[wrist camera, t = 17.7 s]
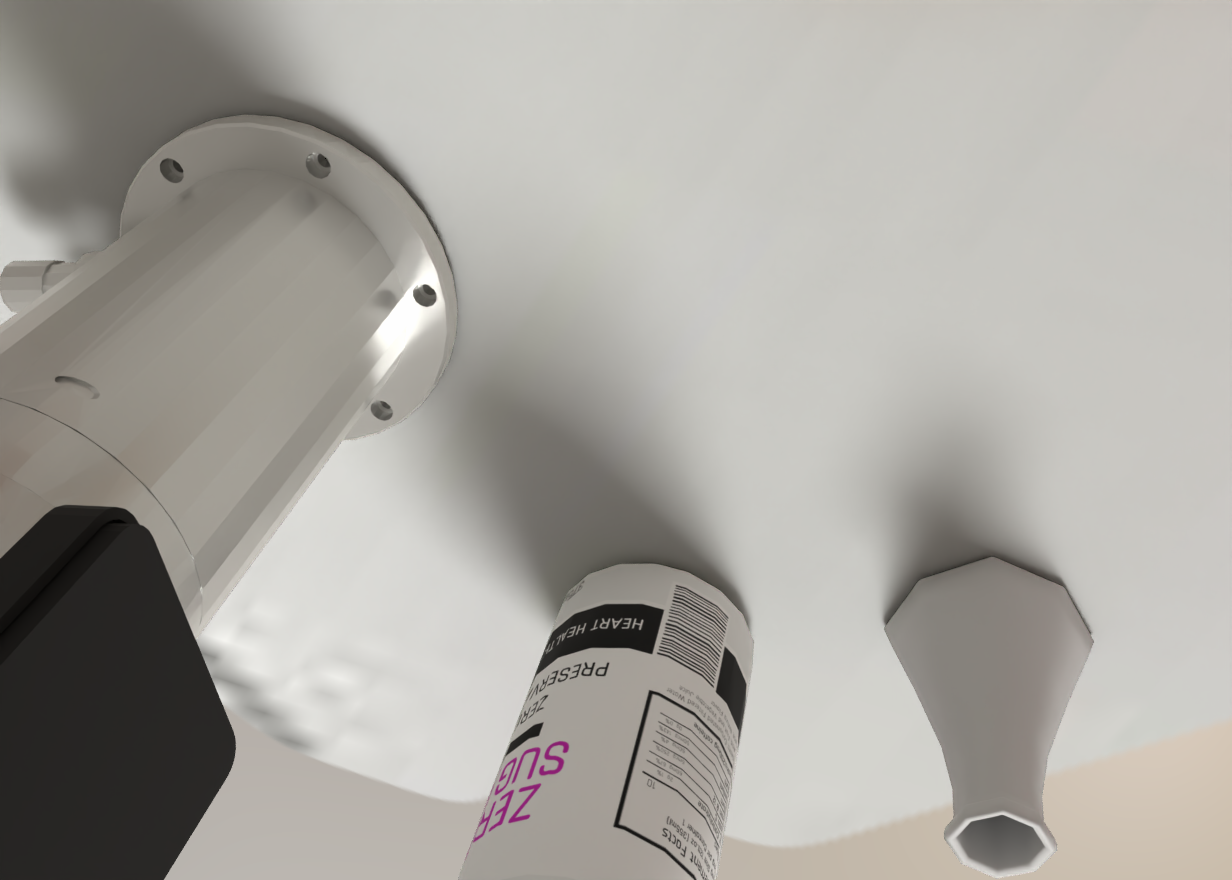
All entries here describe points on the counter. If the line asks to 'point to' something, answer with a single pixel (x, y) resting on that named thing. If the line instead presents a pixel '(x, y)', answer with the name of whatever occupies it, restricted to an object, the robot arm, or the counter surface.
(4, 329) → the robot arm
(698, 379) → the counter surface
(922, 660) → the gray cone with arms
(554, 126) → the counter surface
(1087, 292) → the counter surface
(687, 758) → the supplement can
